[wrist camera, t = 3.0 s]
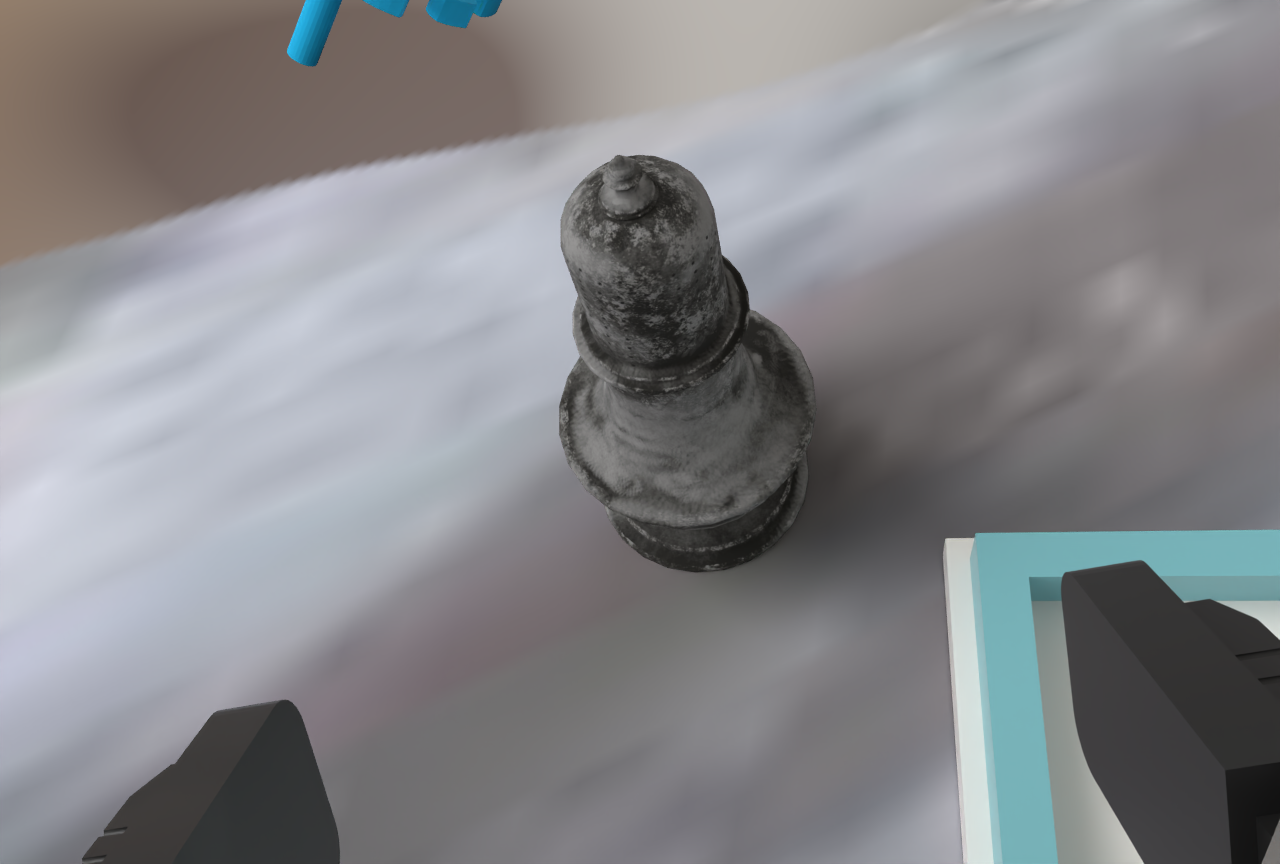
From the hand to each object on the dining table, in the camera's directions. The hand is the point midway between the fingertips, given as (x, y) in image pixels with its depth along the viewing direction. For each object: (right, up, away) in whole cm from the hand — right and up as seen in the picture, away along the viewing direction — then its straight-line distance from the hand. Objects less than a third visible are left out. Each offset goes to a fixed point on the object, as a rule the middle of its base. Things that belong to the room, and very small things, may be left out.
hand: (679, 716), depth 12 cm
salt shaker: (+1, +2, +18) cm, 18 cm away
